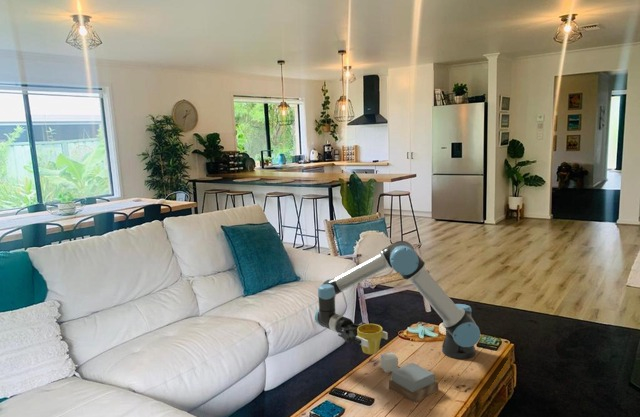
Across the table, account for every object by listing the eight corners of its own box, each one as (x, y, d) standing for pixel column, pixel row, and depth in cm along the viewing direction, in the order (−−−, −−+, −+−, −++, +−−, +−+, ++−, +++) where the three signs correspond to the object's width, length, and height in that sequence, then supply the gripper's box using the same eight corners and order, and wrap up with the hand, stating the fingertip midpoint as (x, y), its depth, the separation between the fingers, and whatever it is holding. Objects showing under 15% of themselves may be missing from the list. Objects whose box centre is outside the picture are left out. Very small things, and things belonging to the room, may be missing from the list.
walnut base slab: (411, 378, 197) (411, 369, 197) (438, 391, 186) (438, 382, 186) (389, 390, 189) (388, 380, 188) (415, 404, 178) (415, 394, 177)
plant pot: (382, 357, 183) (381, 333, 182) (356, 356, 185) (355, 332, 184) (384, 346, 193) (383, 323, 192) (359, 345, 195) (358, 323, 194)
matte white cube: (380, 366, 208) (380, 354, 208) (393, 364, 210) (392, 352, 209) (385, 372, 202) (385, 359, 202) (398, 370, 204) (398, 358, 203)
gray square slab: (412, 371, 195) (412, 362, 195) (434, 382, 185) (434, 373, 185) (391, 380, 189) (391, 371, 188) (412, 392, 179) (412, 382, 178)
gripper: (360, 326, 210) (397, 340, 192) (321, 340, 196) (357, 357, 178) (360, 310, 209) (396, 323, 191) (320, 323, 195) (356, 339, 177)
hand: (377, 340), depth 185 cm, fingers closed on plant pot, 10 cm apart
